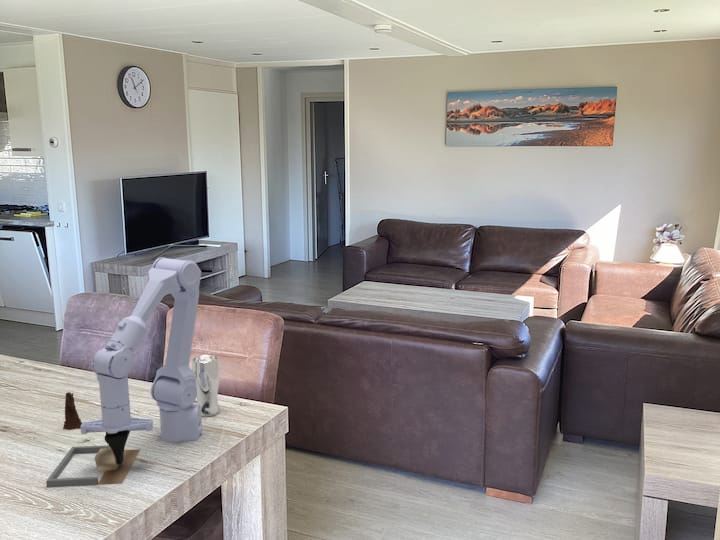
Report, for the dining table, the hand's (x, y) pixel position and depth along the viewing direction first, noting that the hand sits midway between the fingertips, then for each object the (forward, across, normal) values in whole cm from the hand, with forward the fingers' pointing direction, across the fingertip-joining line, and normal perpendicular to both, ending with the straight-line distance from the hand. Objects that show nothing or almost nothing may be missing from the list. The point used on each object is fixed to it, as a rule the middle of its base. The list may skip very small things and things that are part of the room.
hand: (120, 462), depth 138 cm
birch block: (+1, -2, 0) cm, 2 cm away
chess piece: (+2, -18, +22) cm, 28 cm away
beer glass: (+2, +14, +30) cm, 33 cm away
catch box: (+2, -8, 0) cm, 8 cm away
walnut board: (+2, 0, 0) cm, 2 cm away
